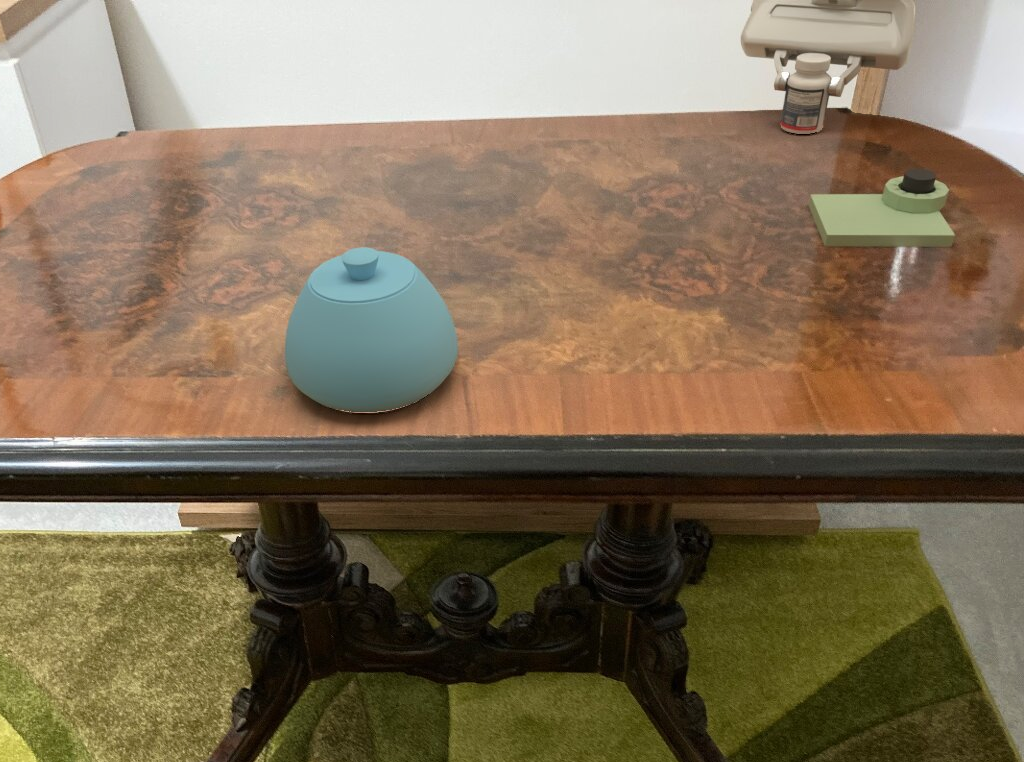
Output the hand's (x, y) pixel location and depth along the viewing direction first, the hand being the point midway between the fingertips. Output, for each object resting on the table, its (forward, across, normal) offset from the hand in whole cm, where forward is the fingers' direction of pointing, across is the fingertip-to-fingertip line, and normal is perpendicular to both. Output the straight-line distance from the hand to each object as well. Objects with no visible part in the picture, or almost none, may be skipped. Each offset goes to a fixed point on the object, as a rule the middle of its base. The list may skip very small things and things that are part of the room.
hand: (806, 91), depth 116 cm
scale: (+21, +14, -14) cm, 29 cm away
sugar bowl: (+54, -18, -47) cm, 74 cm away
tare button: (+16, +17, -13) cm, 27 cm away
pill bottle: (+3, 0, +4) cm, 5 cm away
